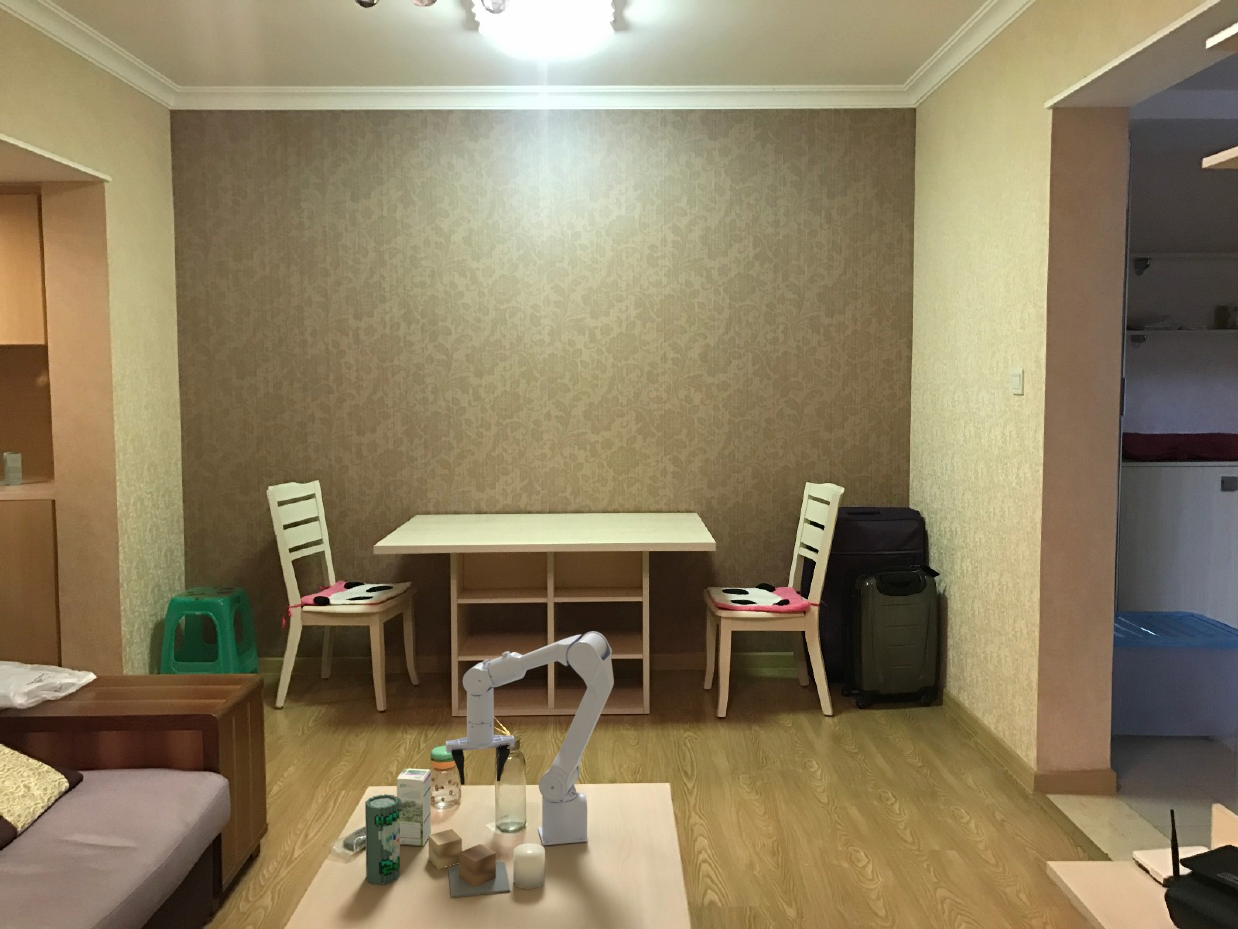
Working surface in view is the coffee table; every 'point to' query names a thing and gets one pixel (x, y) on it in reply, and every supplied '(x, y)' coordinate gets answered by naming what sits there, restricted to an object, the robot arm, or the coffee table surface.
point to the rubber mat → (493, 886)
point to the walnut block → (477, 865)
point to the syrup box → (414, 806)
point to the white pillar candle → (529, 865)
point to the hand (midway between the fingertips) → (480, 781)
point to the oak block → (444, 848)
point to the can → (382, 839)
